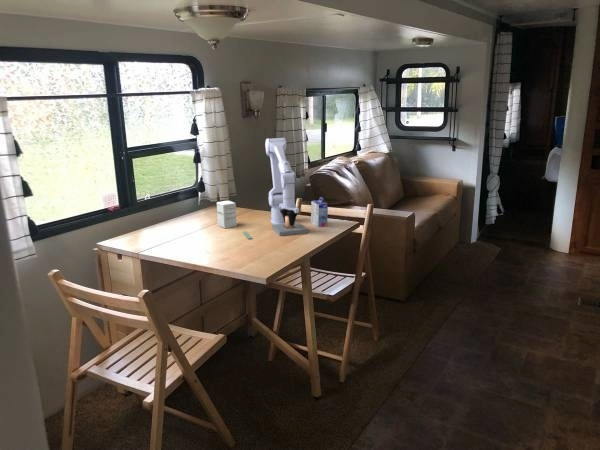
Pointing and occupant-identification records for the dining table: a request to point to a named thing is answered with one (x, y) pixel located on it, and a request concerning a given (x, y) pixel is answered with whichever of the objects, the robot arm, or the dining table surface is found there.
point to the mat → (247, 235)
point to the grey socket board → (289, 229)
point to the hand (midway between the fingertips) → (289, 224)
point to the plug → (287, 223)
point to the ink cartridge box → (319, 213)
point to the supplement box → (226, 214)
